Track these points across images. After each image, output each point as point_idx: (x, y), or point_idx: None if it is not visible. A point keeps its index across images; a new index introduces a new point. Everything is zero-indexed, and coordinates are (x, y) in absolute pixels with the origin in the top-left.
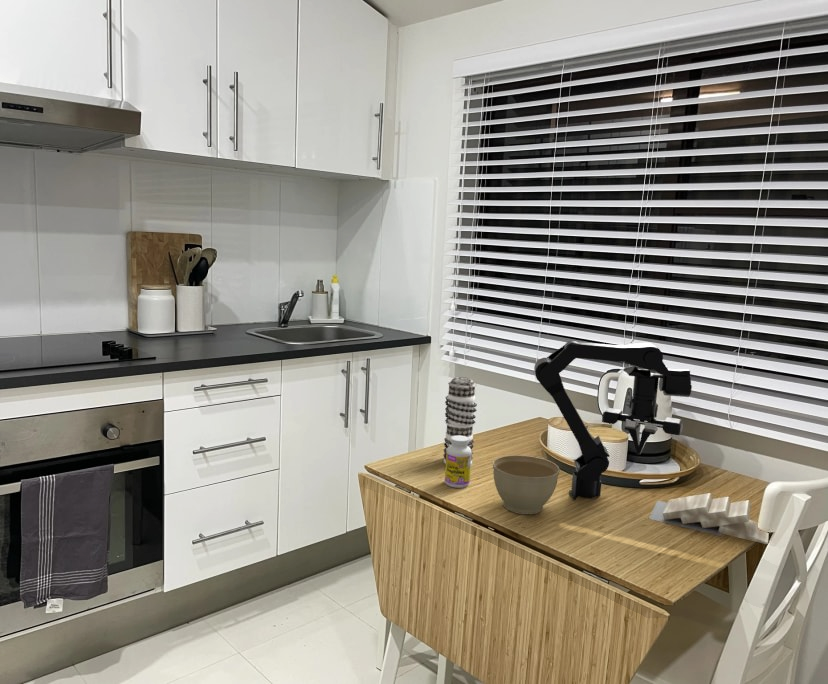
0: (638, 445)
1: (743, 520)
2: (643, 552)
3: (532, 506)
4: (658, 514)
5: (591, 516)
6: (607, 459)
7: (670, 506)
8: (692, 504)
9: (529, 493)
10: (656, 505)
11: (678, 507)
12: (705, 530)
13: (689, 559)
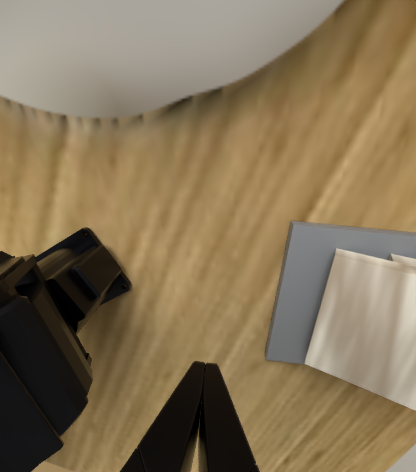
0: (190, 462)
1: None
2: (259, 462)
3: None
4: (292, 325)
5: (136, 369)
6: (66, 430)
7: (333, 327)
8: (412, 369)
9: None
10: (288, 266)
11: (358, 356)
12: None
13: (342, 460)
